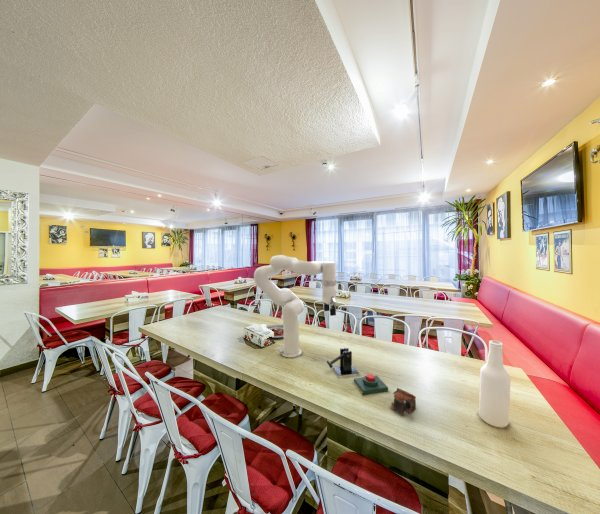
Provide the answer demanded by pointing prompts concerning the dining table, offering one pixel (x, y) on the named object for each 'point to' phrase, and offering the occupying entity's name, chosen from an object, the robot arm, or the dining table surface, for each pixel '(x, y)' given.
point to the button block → (371, 385)
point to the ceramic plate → (277, 330)
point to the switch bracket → (345, 363)
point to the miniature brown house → (399, 402)
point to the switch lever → (335, 360)
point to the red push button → (370, 377)
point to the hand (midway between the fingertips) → (329, 313)
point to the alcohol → (494, 388)
